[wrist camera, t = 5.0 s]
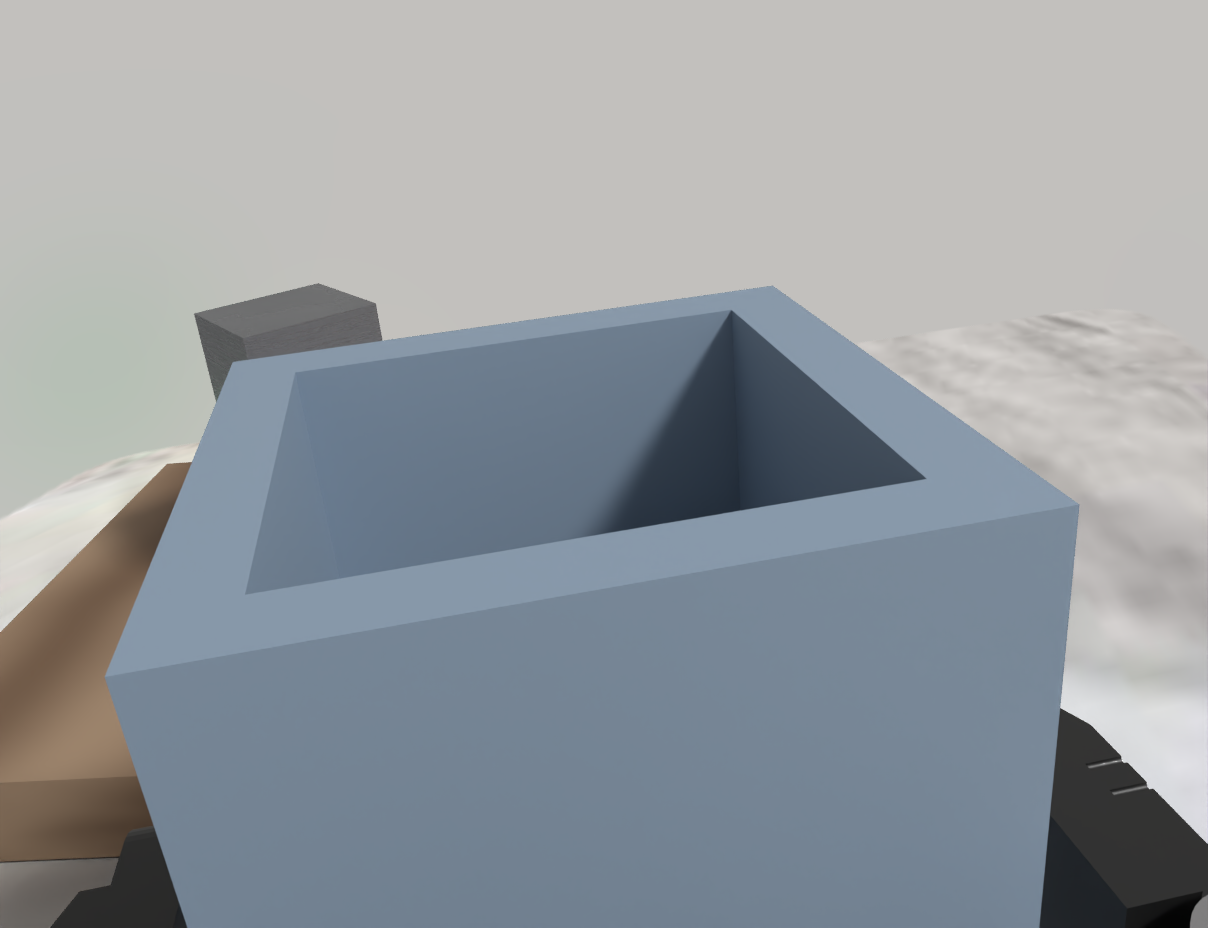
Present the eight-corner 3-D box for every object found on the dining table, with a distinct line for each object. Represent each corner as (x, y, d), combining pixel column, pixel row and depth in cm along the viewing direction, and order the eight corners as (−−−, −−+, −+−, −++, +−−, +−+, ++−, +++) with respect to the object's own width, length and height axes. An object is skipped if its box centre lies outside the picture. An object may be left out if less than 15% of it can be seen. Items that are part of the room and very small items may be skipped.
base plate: (-121, 866, 23) (-156, 790, 22) (181, 517, 37) (167, 463, 36) (651, 833, 21) (644, 751, 21) (650, 486, 36) (646, 430, 35)
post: (223, 619, 27) (149, 345, 24) (284, 527, 31) (228, 287, 28) (406, 608, 26) (353, 329, 23) (442, 517, 31) (400, 273, 28)
